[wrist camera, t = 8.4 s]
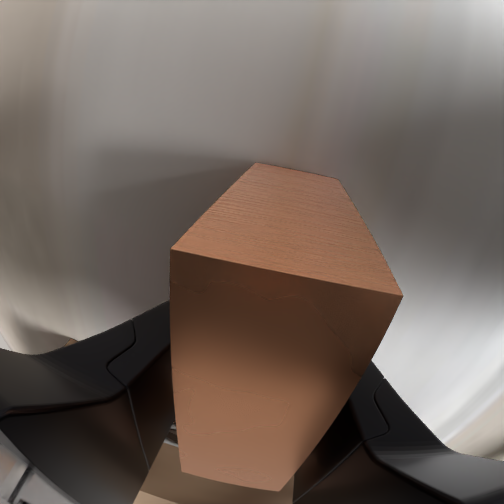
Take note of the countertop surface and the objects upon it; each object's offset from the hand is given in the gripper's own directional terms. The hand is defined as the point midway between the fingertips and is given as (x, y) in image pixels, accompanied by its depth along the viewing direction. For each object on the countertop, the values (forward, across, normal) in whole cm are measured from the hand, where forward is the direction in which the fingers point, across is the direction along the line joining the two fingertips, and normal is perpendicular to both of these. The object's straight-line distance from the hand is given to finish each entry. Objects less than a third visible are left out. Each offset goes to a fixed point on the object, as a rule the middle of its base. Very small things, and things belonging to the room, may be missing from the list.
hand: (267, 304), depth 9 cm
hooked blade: (+1, +1, +8) cm, 8 cm away
